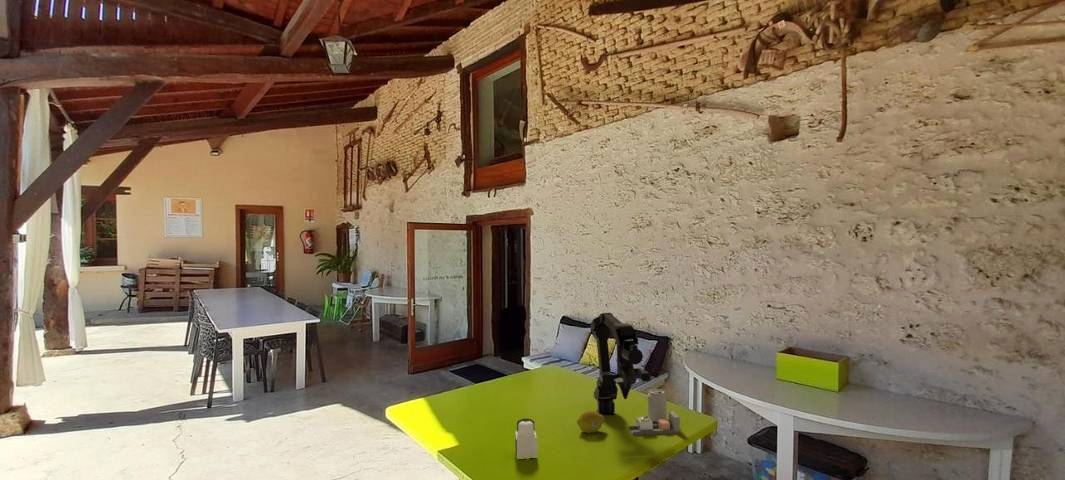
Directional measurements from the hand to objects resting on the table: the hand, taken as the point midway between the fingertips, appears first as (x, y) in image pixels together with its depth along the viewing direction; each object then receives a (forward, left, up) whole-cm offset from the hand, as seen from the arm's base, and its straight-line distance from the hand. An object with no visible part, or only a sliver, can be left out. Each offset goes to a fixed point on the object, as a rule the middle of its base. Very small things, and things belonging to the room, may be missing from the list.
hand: (625, 398), depth 182 cm
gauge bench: (+11, 0, -13) cm, 17 cm away
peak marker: (+15, 0, -13) cm, 20 cm away
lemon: (-13, +2, -13) cm, 19 cm away
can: (+16, +11, -13) cm, 23 cm away
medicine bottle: (-39, -15, -13) cm, 44 cm away
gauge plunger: (+7, 0, -12) cm, 14 cm away
